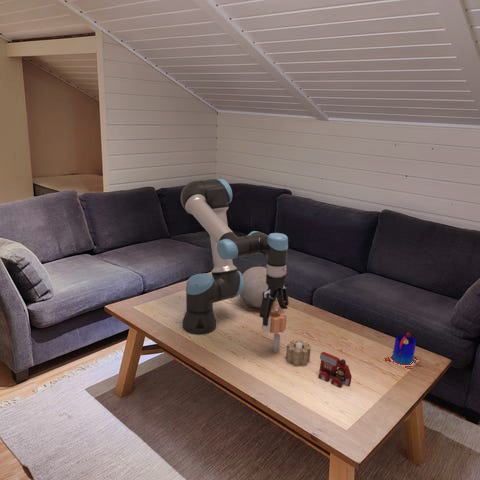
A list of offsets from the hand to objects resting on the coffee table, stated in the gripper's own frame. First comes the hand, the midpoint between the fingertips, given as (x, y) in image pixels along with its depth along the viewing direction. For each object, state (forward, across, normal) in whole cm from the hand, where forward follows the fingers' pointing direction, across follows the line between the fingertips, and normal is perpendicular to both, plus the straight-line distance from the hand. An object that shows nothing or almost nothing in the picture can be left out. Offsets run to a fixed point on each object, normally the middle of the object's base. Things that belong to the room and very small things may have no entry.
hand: (273, 327), depth 174 cm
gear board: (+12, +2, -5) cm, 13 cm away
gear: (+11, +2, -10) cm, 15 cm away
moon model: (+12, +32, +31) cm, 46 cm away
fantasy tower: (+13, +32, -41) cm, 54 cm away
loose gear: (0, 0, 0) cm, 0 cm away
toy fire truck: (+13, 0, -27) cm, 30 cm away
